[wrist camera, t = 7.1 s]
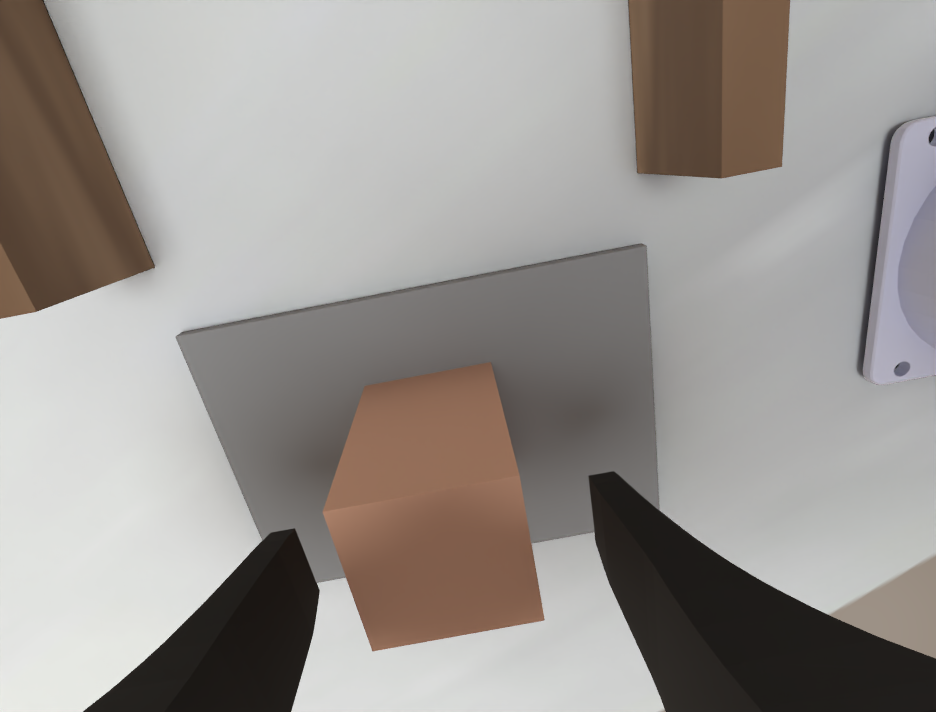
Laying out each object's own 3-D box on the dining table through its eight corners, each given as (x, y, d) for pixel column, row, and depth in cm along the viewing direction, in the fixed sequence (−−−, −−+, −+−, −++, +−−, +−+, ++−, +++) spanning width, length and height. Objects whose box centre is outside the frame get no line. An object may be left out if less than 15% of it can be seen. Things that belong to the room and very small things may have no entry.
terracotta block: (490, 362, 15) (519, 475, 10) (509, 469, 17) (544, 620, 11) (364, 385, 16) (322, 511, 10) (394, 490, 17) (372, 651, 11)
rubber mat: (641, 243, 15) (646, 245, 14) (655, 512, 18) (659, 519, 18) (181, 332, 15) (175, 336, 15) (286, 580, 19) (283, 588, 18)
